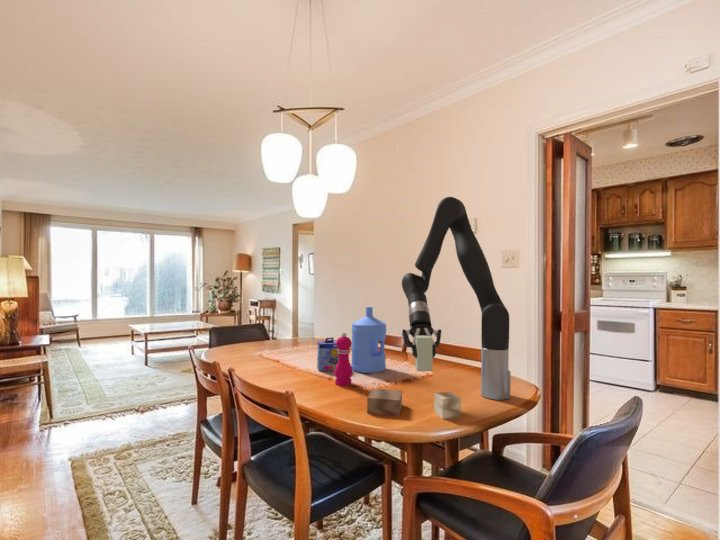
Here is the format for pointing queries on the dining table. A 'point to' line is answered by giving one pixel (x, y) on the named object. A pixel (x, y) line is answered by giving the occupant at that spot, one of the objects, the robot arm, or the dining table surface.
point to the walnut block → (384, 402)
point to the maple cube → (447, 405)
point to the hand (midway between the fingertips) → (424, 356)
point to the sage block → (424, 353)
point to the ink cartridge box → (327, 355)
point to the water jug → (368, 344)
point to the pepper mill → (343, 362)
